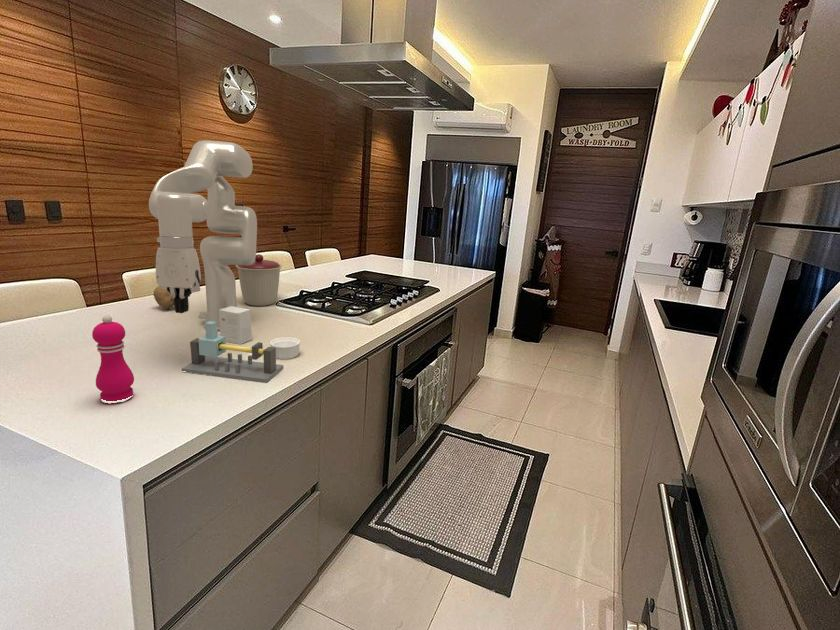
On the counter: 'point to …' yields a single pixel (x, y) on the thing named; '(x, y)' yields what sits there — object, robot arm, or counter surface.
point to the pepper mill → (112, 361)
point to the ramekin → (286, 347)
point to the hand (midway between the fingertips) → (182, 311)
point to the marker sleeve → (211, 341)
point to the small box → (235, 324)
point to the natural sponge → (163, 298)
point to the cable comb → (235, 363)
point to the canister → (259, 281)
